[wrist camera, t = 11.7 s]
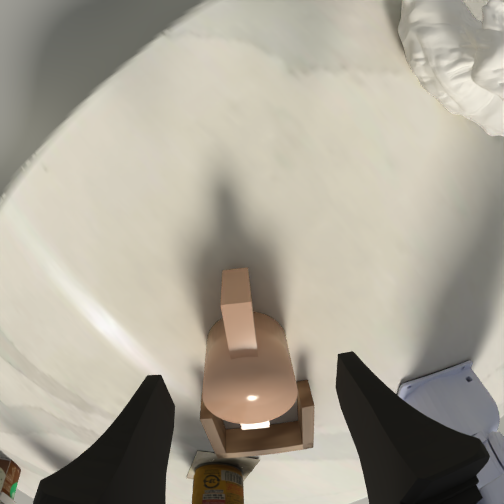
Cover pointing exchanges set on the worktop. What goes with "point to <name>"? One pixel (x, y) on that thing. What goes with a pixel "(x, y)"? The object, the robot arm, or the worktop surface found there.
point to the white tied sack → (458, 57)
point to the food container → (8, 480)
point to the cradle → (263, 431)
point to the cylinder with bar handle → (246, 360)
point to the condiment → (219, 478)
